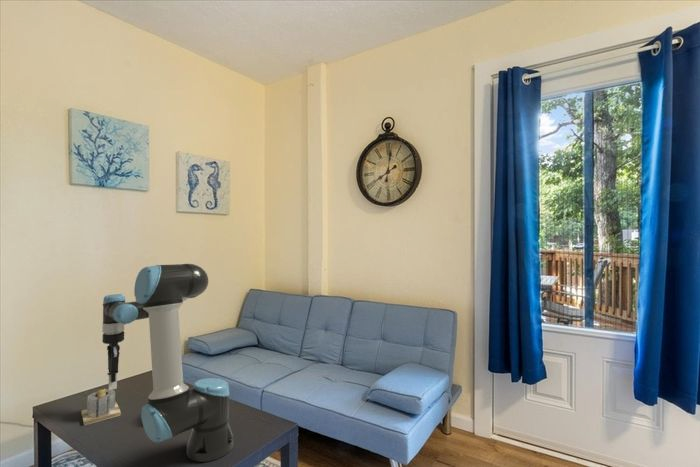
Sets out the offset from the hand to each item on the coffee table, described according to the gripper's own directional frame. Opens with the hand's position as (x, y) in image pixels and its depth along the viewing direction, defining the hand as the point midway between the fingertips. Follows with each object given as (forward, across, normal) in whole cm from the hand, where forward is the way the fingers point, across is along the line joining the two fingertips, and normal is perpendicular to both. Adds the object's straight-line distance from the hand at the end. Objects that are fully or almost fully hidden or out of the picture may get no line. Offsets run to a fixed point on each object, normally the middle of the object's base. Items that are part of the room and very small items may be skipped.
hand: (112, 388), depth 145 cm
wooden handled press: (+9, 0, +4) cm, 10 cm away
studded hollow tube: (+8, 0, +4) cm, 9 cm away
